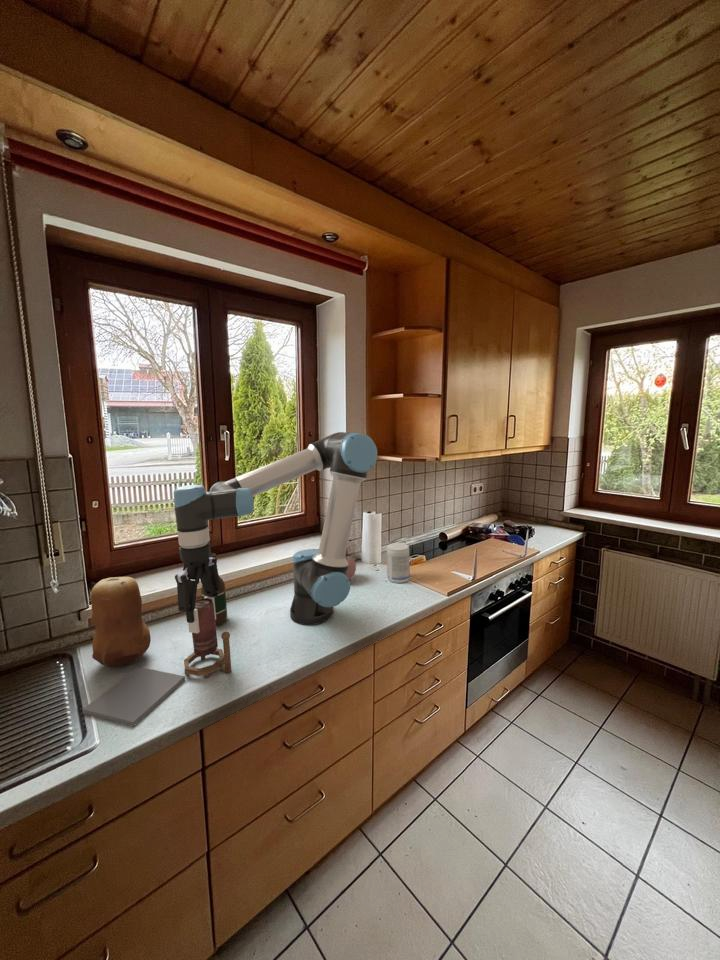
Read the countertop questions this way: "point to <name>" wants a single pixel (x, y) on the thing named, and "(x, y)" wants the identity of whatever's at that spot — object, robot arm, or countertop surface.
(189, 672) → the ring stand
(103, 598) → the butternut squash
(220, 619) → the beer bottle
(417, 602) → the countertop surface
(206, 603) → the can
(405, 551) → the supplement tub
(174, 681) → the plate
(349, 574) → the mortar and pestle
